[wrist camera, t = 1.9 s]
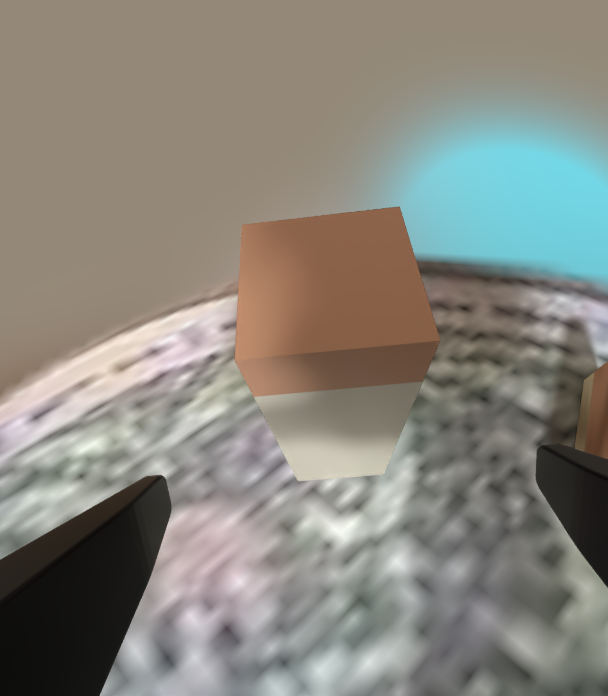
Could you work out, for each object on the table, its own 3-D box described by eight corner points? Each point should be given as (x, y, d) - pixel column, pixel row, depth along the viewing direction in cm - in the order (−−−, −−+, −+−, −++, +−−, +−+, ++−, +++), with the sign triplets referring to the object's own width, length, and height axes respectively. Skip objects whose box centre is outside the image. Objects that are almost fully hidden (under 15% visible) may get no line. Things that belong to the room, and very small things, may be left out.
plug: (383, 474, 19) (440, 340, 8) (297, 481, 19) (234, 360, 8) (370, 395, 21) (399, 206, 10) (294, 402, 21) (241, 224, 10)
